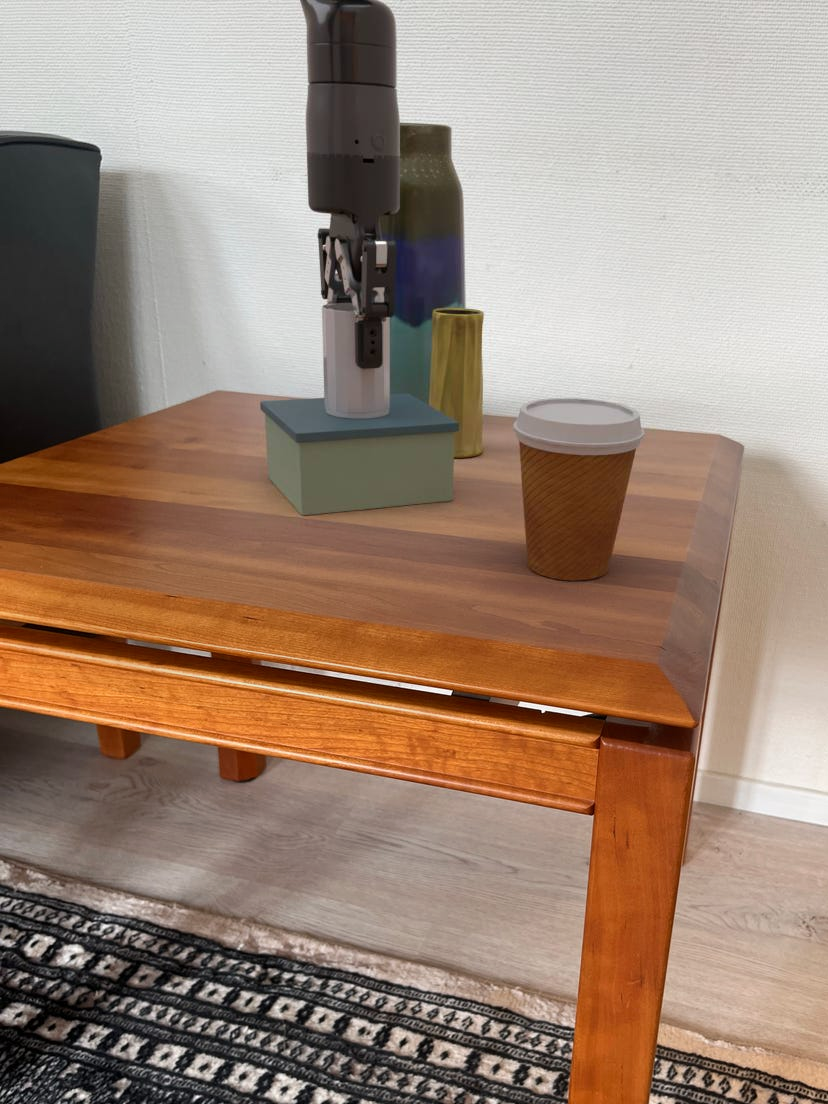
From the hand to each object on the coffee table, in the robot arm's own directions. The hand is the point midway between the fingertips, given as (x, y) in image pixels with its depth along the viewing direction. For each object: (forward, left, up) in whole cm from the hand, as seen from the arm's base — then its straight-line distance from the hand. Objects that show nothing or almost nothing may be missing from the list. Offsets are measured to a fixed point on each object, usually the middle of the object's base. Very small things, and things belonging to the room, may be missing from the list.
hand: (356, 359), depth 90 cm
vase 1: (+15, +27, -12) cm, 33 cm away
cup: (0, 0, -5) cm, 5 cm away
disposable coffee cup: (+9, -24, -12) cm, 28 cm away
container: (0, 0, -12) cm, 12 cm away
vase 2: (+14, +10, -12) cm, 21 cm away
